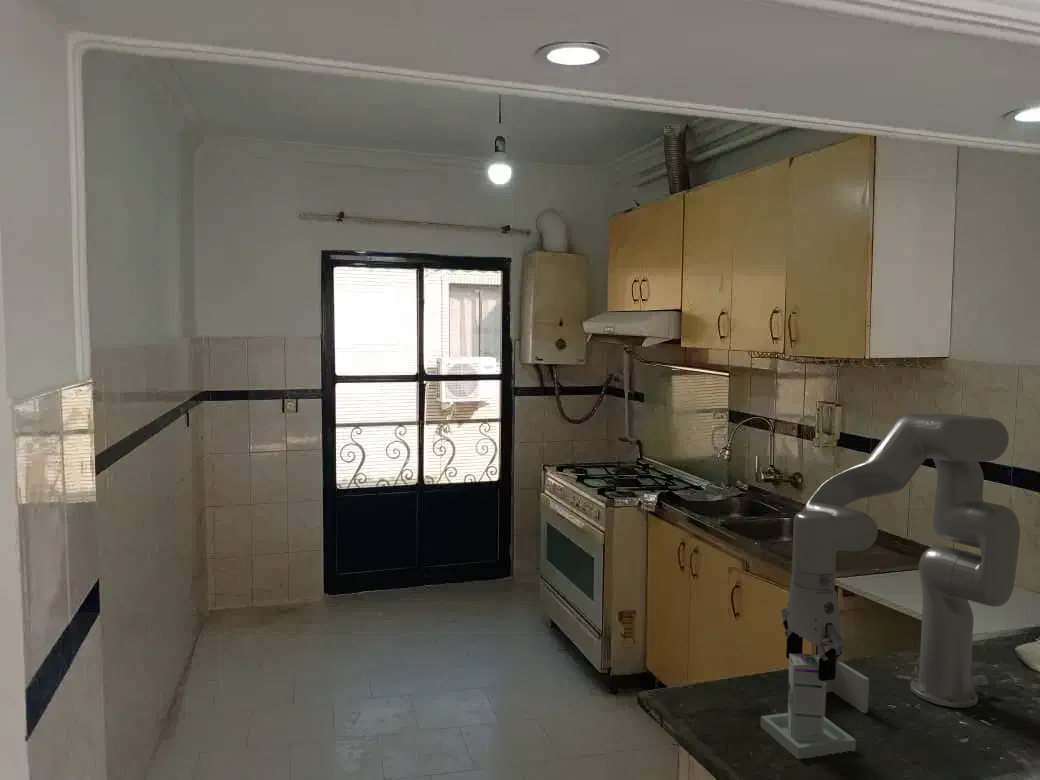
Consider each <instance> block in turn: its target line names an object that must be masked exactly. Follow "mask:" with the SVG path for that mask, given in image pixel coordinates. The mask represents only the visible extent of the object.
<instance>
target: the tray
mask: <svg viewBox="0 0 1040 780" xmlns="http://www.w3.org/2000/svg"><path fill="white" fill-rule="evenodd" d="M759 726H760V728H761V729H763V731H765V732H766V733H767V734H768V735H769V736H770V737H772V738H773V739H774V740H775V741H776V742H777V743H779V745H781V746H782V747H784V749H786V751H788V752H789V753H790V754H791V753H792V754H791V755H793V756H794V758H796V759H797V760H802V759H803V758H804V759H810V758H817V757H816V756H818V757H824V756H823V755H825V756H828V755H827V754H832V755H836V754H835V753H839V752H840V753H839V754H843V753H842V752H846V753H848V752H847V751H852V752H856V747H857V746H856V745H857V739H855V737H853V736H851V735H850V734H848V733H847V732H846V731H845V730H843V729H842V728H840V727H839V726H838V725H836V724H835V723H834V722H832V721H831V720H829V719H828V718H827V717H826V716H825V717H824V725H823V741H821V742H804V741H797V740H794V739H793V738H792V737H791V735H790V732H789V729H788V712H784V713H776V714H768V715H761V716H760V725H759ZM804 759H803V760H804Z"/></svg>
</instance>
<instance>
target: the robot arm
mask: <svg viewBox="0 0 1040 780" xmlns="http://www.w3.org/2000/svg"><path fill="white" fill-rule="evenodd" d="M1009 438H1010V437H1009V432H1008V430H1007V427H1006V426H1005V425H1004V424H1003V423H1002V422H1001V421H999V420H997V419H995V418H989V417H982V416H970V415H962V414H951V413H930V414H924V413H908V414H904V415H903V416H901V417H899V418H898V419H897V420H896V421H895V423H894V424H893V425H892V426H891V427H890V428H889V430H888V431H887V432H886V433H885V435H884V436H883V437H882V439H881V440H880V441H879V442H878V443H877V445H876V447H875V448H874V449H873V450H872V451H871V453H870V454H869V455H868V457H867V458H866V459H865V460H864V461H862V462H860V463H858V464H855V465H854V466H851V467H849V468H848V469H847V468H846V469H845V470H843V471H841V472H840V473H837V474H836V475H833V476H832V477H830V478H829V479H827V480H826V481H824V482H823V483H822V484H821V485H819V487H818V488H817V489H816V490H815V491H814V493H813V494H812V495H811V496H810V498H809V499H808V501H807V502H806V503H805V505H804V507H803V509H802V510H801V511H800V512H799V511H798V512H797V513H796V514H795V515H794V518H793V528H792V529H793V530H792V532H793V533H792V555H791V556H792V557H791V558H792V560H791V581H790V582H791V583H790V588H789V592H788V601H787V607H786V608H781V616H782V619H783V621H782V624H783V627H784V629H785V632H784V635H785V637H786V651H785V652H786V653H785V657H786V659H787V660H789V655H790V654H803V650H804V649H803V647H804V646H803V645H804V643H803V642H804V640H805V641H807V642H809V643H811V644H812V645H815V646H817V649H818V651H819V654H820V655H821V657H822V658H819V670H818V679H819V680H820V681H826V680H834V679H835V673H836V659H838V660H839V657H840V656H841V655H842V654H843V650H844V648H845V646H846V643H845V640H844V639H843V637H842V636H841V619H840V618H841V616H840V607H839V606H840V605H839V597H838V593H837V591H836V590H835V585H836V566H837V565H836V562H837V559H836V557H837V552H838V551H839V552H841V551H842V552H860V551H864V550H867V549H868V548H870V547H871V546H872V545H874V543H875V542H876V540H877V538H878V536H879V535H878V533H879V531H878V530H879V529H878V526H877V522H876V521H875V520H874V518H873V517H871V516H870V515H869V514H867V513H865V512H862V511H861V510H860V511H859V510H856V509H852V508H848V507H846V506H848V505H849V504H852V503H853V502H856V501H859V500H862V499H868V498H874V497H879V496H880V497H881V496H885V495H889V494H895V493H897V492H899V491H902V490H903V489H905V487H906V486H907V485H908V484H909V482H910V481H911V479H912V478H913V477H914V475H915V474H916V473H917V471H918V470H919V468H920V467H921V466H922V465H923V464H924V462H925V460H927V459H932V460H933V462H934V466H935V468H936V472H937V473H936V475H937V477H936V478H937V479H936V480H937V481H936V489H935V490H936V491H935V499H934V506H933V514H932V516H933V517H932V526H933V532H934V533H935V534H936V535H937V536H938V537H940V538H942V539H944V540H946V541H949V542H952V543H957V544H961V545H965V546H969V547H973V548H976V549H980V554H978V553H973V552H971V551H967V550H963V549H958V548H955V547H950V546H941V545H939V546H938V545H935V546H932V547H929V548H928V549H926V550H925V551H924V552H923V553H922V554H921V556H920V559H919V562H918V573H919V579H920V584H921V593H922V612H921V613H922V614H921V631H920V634H921V635H920V652H919V670H918V671H919V673H918V674H919V675H918V677H917V678H913V679H912V680H911V681H910V691H912V693H914V695H915V696H917V697H918V698H920V699H923V700H924V701H926V702H929V703H932V704H935V705H938V706H942V707H948V708H955V709H956V708H957V709H963V708H964V709H965V708H971V707H974V706H976V705H977V704H978V703H979V696H978V693H977V692H976V691H975V690H974V689H975V688H976V687H978V686H984V685H988V683H989V680H988V678H987V676H986V675H984V674H980V675H973V674H972V655H973V651H972V650H973V637H974V623H975V622H974V613H973V610H972V607H971V605H970V603H969V601H971V602H973V603H977V604H980V605H983V606H988V607H991V608H992V607H993V608H995V607H996V608H998V607H1001V606H1004V605H1005V604H1006V603H1008V601H1009V600H1010V599H1011V596H1012V594H1013V591H1014V586H1015V580H1016V579H1015V578H1016V574H1017V573H1016V572H1017V562H1018V556H1019V548H1020V537H1021V536H1020V535H1021V528H1020V523H1019V519H1018V517H1017V515H1016V514H1015V512H1014V511H1013V510H1012V509H1010V508H1009V507H1007V506H1004V505H1002V504H999V503H998V504H997V503H992V502H987V501H984V499H983V497H984V496H983V494H984V482H985V481H984V479H985V478H984V472H983V469H982V467H981V465H980V463H979V462H981V463H982V462H983V463H984V462H993V461H995V460H997V459H999V458H1001V456H1003V455H1004V453H1005V452H1006V450H1007V449H1008V445H1009V442H1010V441H1009ZM825 647H828V650H826V648H825Z"/></svg>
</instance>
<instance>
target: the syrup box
mask: <svg viewBox="0 0 1040 780" xmlns="http://www.w3.org/2000/svg"><path fill="white" fill-rule="evenodd" d="M816 655H817V654H810V653H809V654H808V653H802V654H790V655H789V659H788V660H789V661H788V692H787V693H788V694H787V695H788V696H787V697H788V698H787V713H788V729H789V732H790V735H791V737H792V738H793V739H794V740H797V741H804V742H821V741H823V725H824V681H820V680H819V679H818V670H819V658H820V657H819V656H816Z"/></svg>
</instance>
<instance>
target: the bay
mask: <svg viewBox="0 0 1040 780" xmlns="http://www.w3.org/2000/svg"><path fill="white" fill-rule="evenodd" d="M815 655H816V656H819V657H820V658H822V657H821V655H820V653H818V654H815ZM832 691H833V692H835V693H836V694H837V695H839V696H840V697H841V698H840V697H839V696H838V697H839V698H840V699H842V698H843V699H844V700H843V699H842V700H843V701H844V702H846V701H847V702H846V703H848V702H849V703H850V705H851V706H852V705H853V706H852V707H854V708H855V707H856V708H857V710H858V711H859V710H860V711H859V712H861V713H862V712H863V713H862V714H867V713H869V695H870V694H869V692H870V678H869V677H867V676H865V675H863V674H862V673H861V672H859V671H857V670H856V669H854V668H852V667H850V666H849V665H847V664H845V663H844V662H842V661H841V660H839V658H838V659H836V673H835V679H834V680H826V681H824V717H825V718H826V704H827V693H826V692H832ZM836 694H835V695H836ZM837 695H836V696H837ZM849 703H848V704H849ZM856 708H855V709H856Z"/></svg>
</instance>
